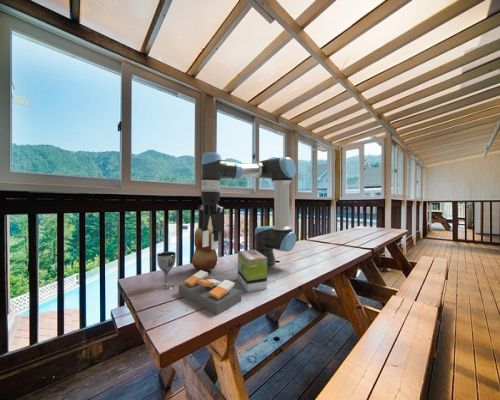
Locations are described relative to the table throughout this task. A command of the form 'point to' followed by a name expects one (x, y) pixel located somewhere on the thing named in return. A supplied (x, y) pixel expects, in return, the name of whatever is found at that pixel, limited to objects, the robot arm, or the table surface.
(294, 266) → the table surface
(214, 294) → the switch
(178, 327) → the table surface
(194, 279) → the switch
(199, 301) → the power strip
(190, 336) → the table surface
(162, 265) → the wine glass
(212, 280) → the switch middle
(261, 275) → the tea box
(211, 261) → the butternut squash
